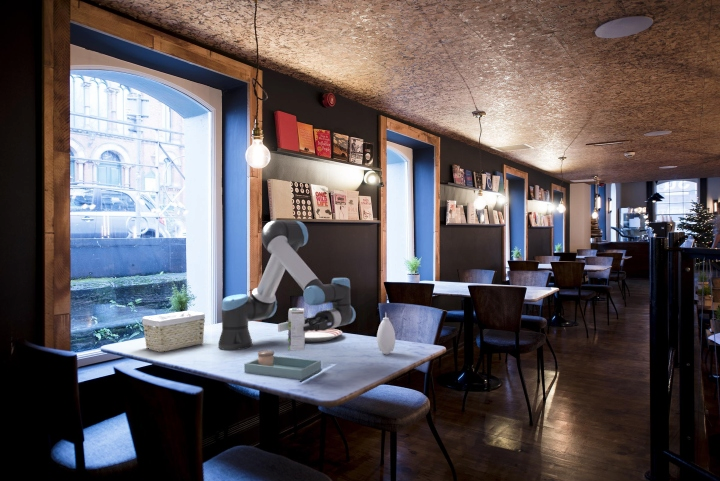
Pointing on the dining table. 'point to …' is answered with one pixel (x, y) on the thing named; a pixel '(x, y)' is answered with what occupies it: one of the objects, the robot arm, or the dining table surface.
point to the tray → (285, 367)
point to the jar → (265, 358)
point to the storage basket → (173, 330)
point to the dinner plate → (321, 335)
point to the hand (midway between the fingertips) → (287, 329)
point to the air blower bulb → (386, 336)
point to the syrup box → (295, 319)
